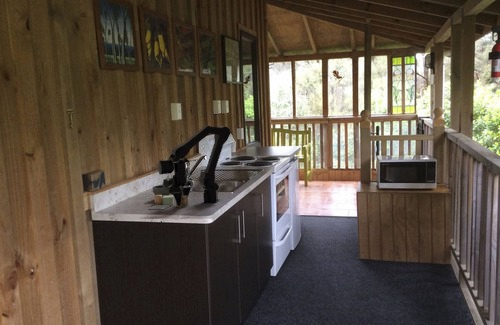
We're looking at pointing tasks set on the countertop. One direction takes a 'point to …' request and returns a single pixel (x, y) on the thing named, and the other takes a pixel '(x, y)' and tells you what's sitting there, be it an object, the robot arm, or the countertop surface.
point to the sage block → (168, 200)
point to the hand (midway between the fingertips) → (182, 203)
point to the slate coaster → (159, 207)
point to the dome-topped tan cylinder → (158, 199)
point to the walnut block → (183, 201)
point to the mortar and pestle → (161, 190)
